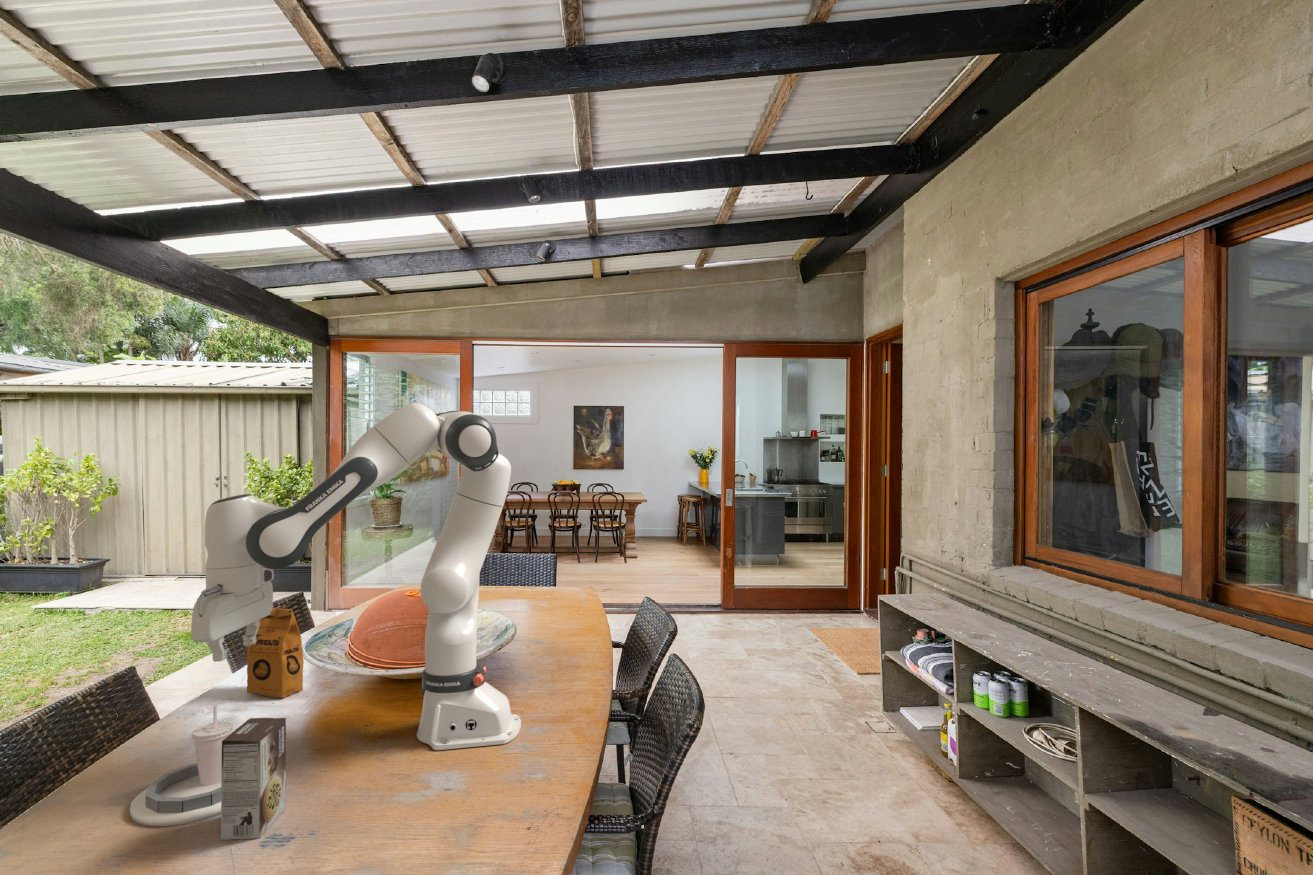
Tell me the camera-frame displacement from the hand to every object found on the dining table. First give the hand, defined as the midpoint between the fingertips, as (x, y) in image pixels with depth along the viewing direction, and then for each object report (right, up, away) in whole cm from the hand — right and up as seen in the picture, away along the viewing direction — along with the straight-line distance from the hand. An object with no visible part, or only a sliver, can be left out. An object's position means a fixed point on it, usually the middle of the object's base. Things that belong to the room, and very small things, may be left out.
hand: (235, 652), depth 126 cm
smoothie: (-3, -23, -3) cm, 24 cm away
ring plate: (-3, -24, -6) cm, 25 cm away
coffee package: (-18, -25, +45) cm, 54 cm away
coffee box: (+13, -24, -15) cm, 31 cm away
